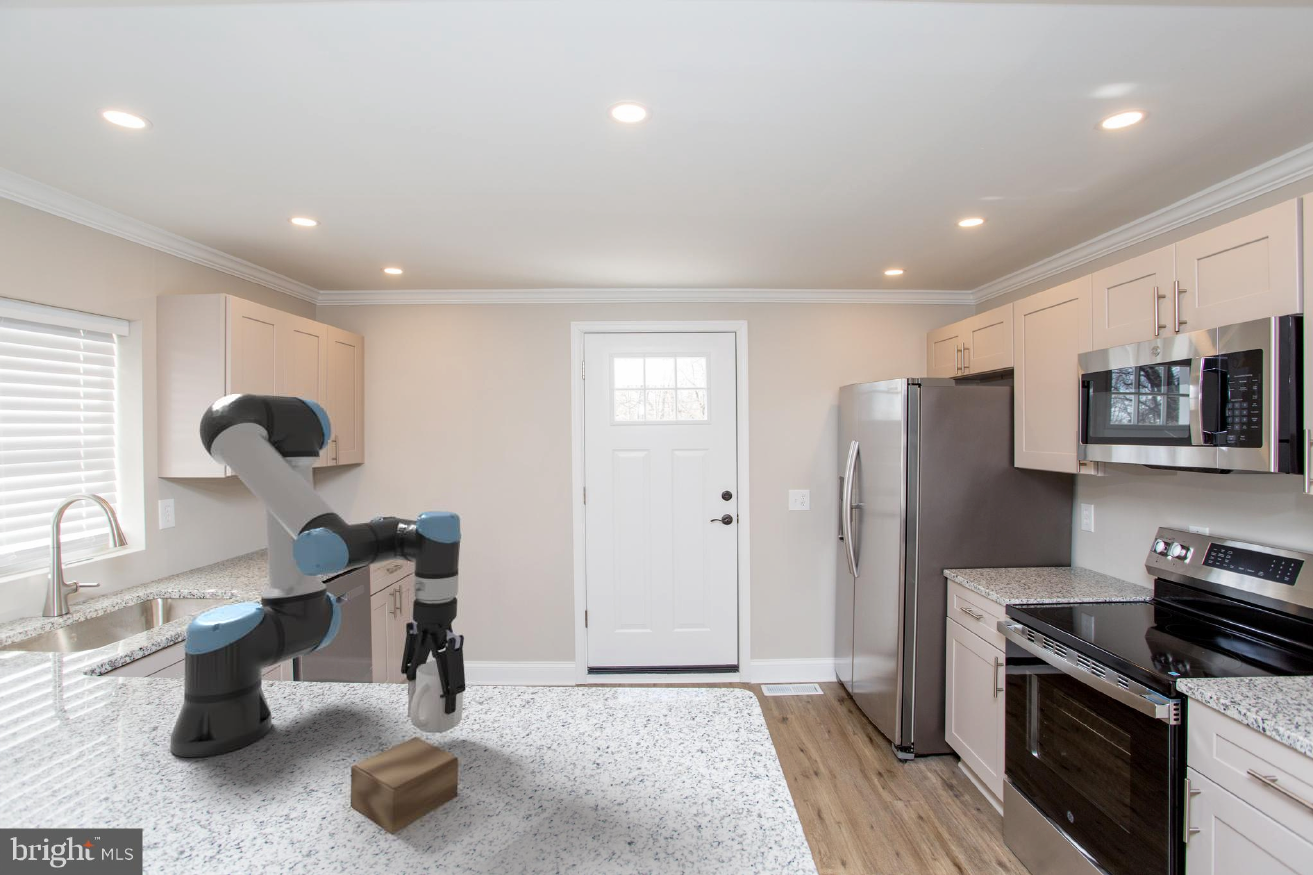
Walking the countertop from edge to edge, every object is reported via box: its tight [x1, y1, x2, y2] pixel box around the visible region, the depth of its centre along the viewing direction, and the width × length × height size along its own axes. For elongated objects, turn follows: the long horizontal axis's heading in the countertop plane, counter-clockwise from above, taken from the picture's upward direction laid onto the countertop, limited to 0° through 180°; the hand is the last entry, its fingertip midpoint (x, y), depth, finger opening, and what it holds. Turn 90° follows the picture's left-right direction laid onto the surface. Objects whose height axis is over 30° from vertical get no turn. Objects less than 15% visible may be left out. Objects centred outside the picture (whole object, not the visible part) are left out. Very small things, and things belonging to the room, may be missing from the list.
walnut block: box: [350, 736, 459, 835], centre depth 91 cm, size 11×11×6 cm
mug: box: [409, 659, 464, 734], centre depth 106 cm, size 12×8×10 cm
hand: (430, 721), depth 106 cm, fingers closed on mug, 8 cm apart
